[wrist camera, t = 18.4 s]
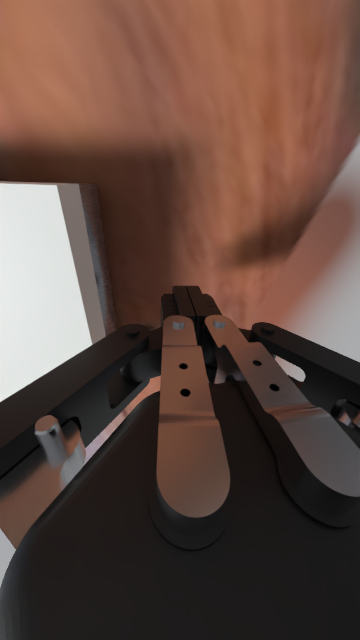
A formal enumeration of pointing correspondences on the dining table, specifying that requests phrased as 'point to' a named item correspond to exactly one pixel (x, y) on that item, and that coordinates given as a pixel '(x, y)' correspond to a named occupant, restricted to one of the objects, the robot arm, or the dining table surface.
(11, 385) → the slab
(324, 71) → the dining table surface
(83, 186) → the roller track
